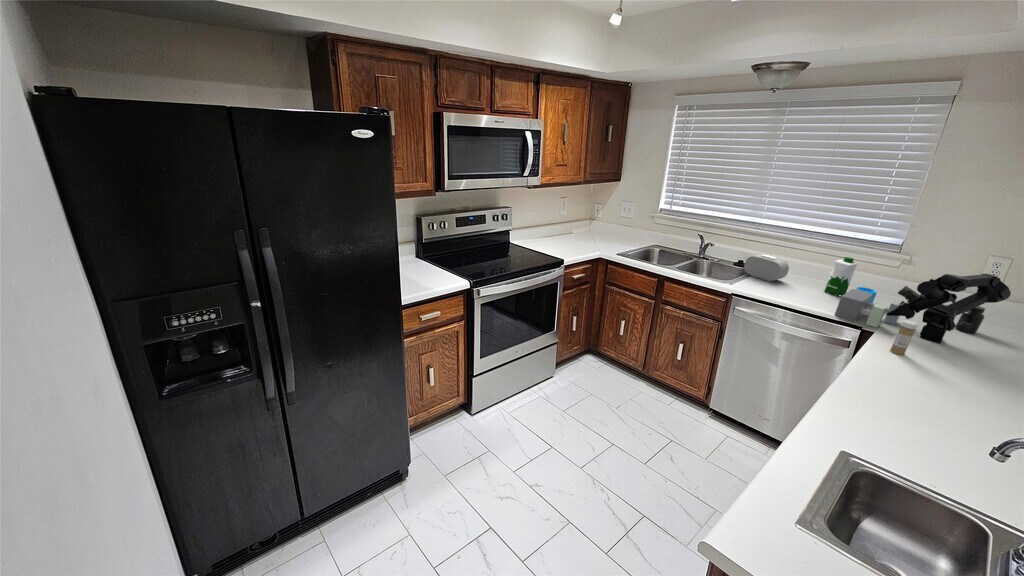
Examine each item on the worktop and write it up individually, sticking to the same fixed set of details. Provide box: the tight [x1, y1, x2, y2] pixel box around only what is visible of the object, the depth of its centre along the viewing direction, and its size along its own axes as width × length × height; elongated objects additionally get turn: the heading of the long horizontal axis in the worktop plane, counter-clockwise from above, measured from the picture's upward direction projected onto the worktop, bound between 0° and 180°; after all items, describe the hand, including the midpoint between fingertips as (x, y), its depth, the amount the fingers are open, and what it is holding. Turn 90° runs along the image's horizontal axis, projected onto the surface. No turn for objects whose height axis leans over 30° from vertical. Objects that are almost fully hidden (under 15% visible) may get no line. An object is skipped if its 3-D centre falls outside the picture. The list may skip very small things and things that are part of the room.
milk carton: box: [823, 256, 858, 297], centre depth 222 cm, size 9×9×20 cm
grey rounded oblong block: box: [743, 254, 790, 282], centre depth 242 cm, size 21×10×13 cm, turn 32°
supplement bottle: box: [954, 305, 986, 335], centre depth 184 cm, size 7×7×12 cm
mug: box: [856, 286, 878, 304], centre depth 211 cm, size 12×8×8 cm
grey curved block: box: [834, 288, 873, 323], centre depth 197 cm, size 8×18×10 cm, turn 128°
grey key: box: [866, 301, 901, 325], centre depth 195 cm, size 16×5×9 cm, turn 38°
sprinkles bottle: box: [889, 319, 919, 356], centre depth 161 cm, size 5×5×14 cm
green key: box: [859, 303, 888, 328], centre depth 190 cm, size 14×5×9 cm, turn 38°
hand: (886, 314), depth 183 cm, fingers closed
